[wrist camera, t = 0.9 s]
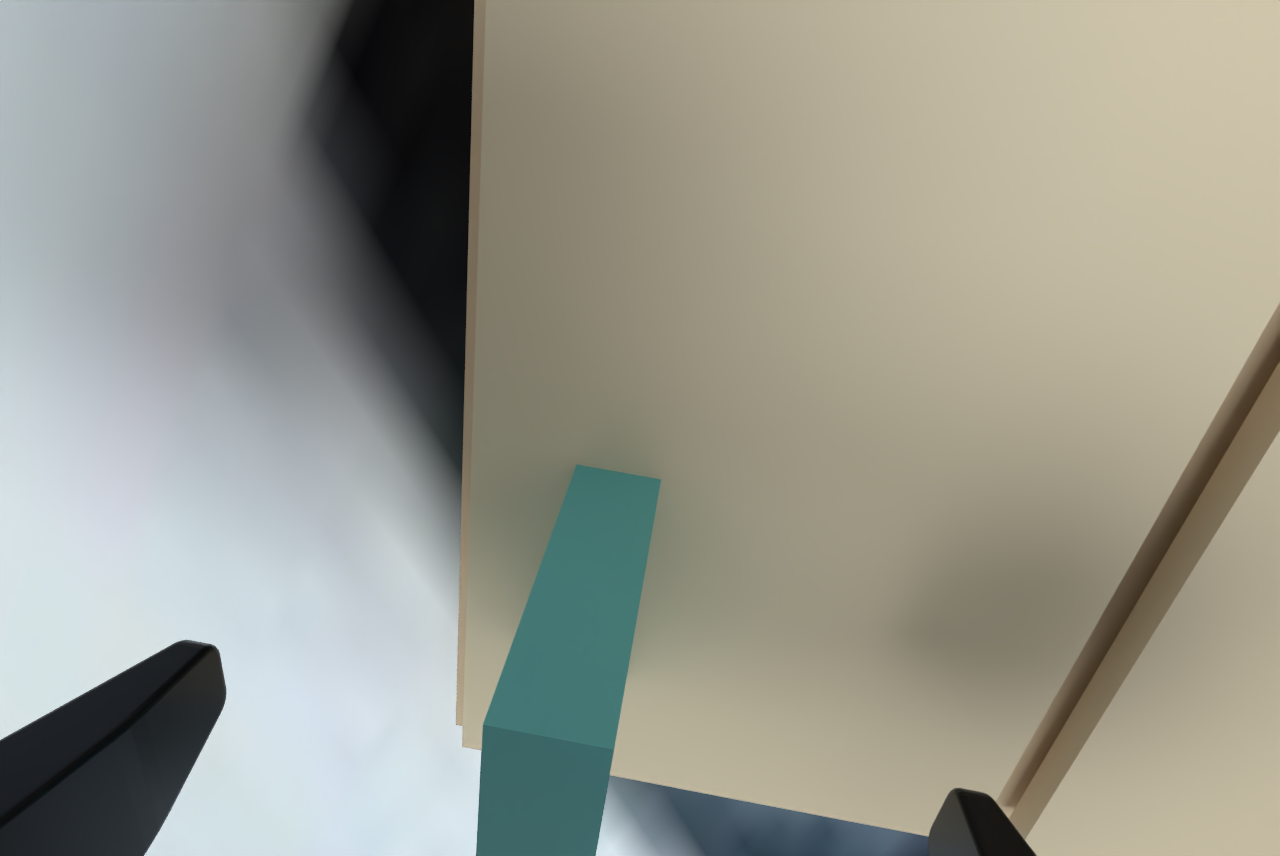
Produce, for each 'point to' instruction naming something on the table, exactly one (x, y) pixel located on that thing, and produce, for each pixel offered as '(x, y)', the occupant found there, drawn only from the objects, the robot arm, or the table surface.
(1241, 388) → the carton
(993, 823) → the robot arm
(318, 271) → the table surface
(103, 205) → the table surface
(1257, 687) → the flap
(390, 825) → the table surface
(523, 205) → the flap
